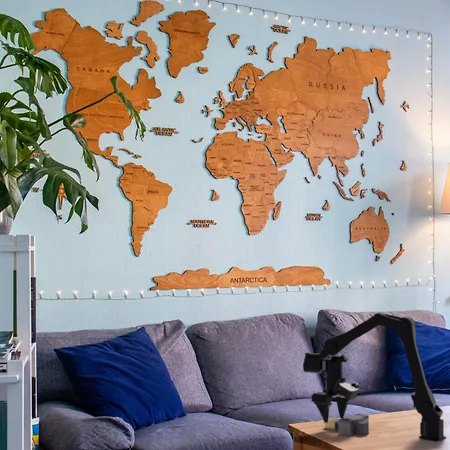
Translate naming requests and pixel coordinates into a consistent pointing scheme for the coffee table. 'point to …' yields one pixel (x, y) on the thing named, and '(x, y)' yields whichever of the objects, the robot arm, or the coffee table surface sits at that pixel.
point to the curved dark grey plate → (350, 424)
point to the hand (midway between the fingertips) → (334, 420)
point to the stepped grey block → (361, 428)
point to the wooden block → (331, 424)
